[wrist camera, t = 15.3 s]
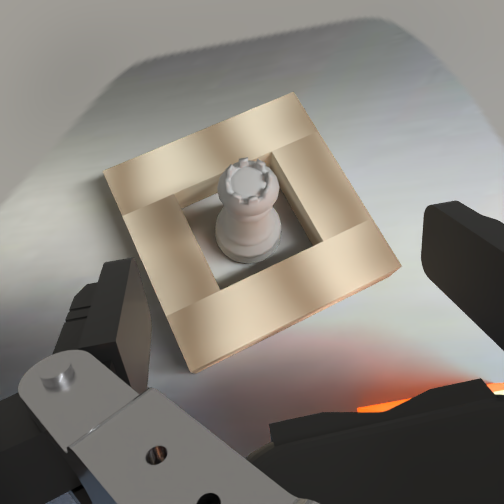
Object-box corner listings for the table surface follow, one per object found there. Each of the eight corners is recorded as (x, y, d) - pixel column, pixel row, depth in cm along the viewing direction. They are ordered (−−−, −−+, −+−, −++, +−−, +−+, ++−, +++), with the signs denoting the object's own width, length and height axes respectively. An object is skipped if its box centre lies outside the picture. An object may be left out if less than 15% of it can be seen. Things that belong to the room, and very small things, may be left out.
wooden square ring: (195, 373, 27) (190, 372, 24) (113, 188, 31) (102, 171, 28) (389, 276, 29) (401, 266, 26) (290, 113, 33) (293, 91, 30)
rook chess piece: (201, 234, 30) (185, 179, 22) (247, 192, 31) (247, 125, 23) (248, 279, 29) (249, 237, 21) (294, 233, 30) (310, 178, 22)
